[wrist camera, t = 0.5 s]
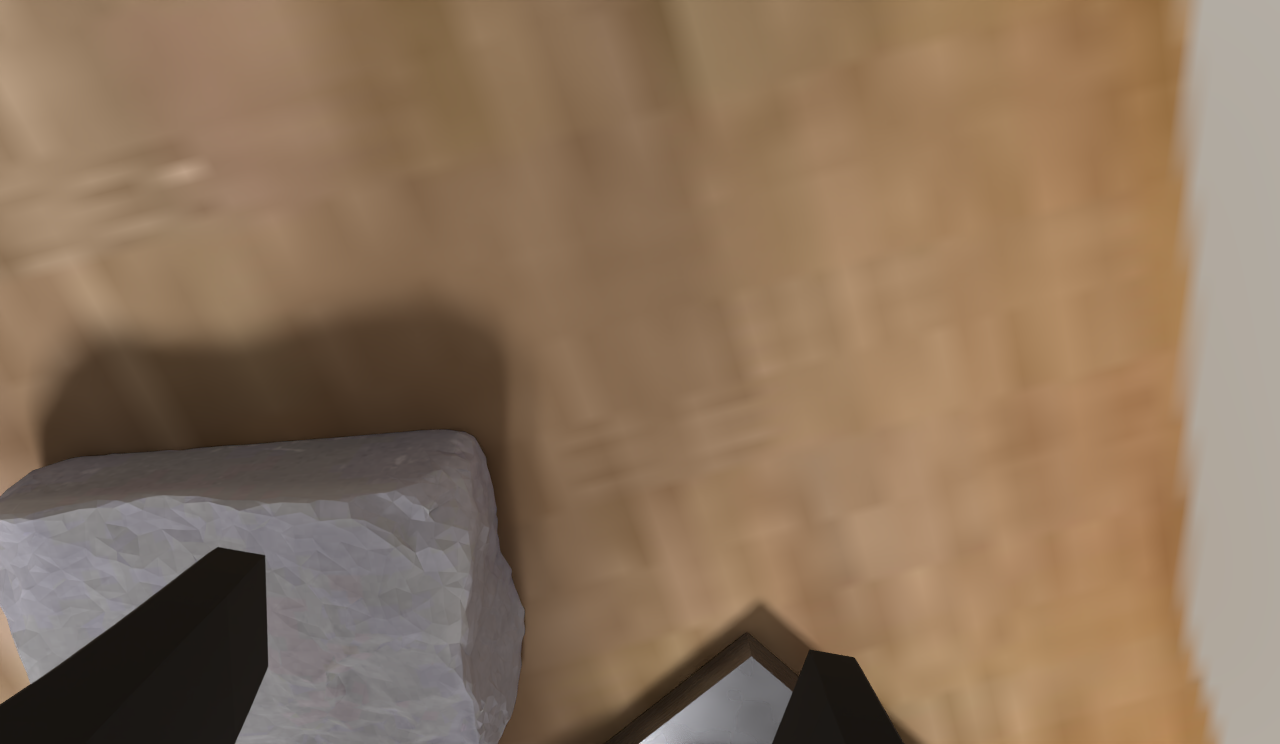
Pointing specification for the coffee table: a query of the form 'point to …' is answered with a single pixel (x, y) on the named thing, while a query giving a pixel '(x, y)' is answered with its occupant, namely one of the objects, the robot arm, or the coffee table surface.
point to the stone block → (292, 575)
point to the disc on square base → (720, 702)
